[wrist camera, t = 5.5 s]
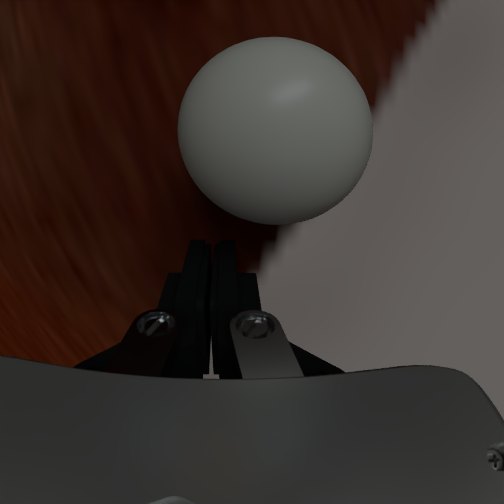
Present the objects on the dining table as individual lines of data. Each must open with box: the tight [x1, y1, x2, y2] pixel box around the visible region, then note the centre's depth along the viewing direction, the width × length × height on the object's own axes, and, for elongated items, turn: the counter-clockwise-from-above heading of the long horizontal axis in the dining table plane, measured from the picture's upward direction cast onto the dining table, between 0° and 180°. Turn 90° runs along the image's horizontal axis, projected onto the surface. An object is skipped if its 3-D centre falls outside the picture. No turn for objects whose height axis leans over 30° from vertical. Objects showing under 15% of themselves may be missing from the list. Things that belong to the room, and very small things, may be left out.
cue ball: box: [178, 37, 373, 225], centre depth 8 cm, size 6×6×6 cm
